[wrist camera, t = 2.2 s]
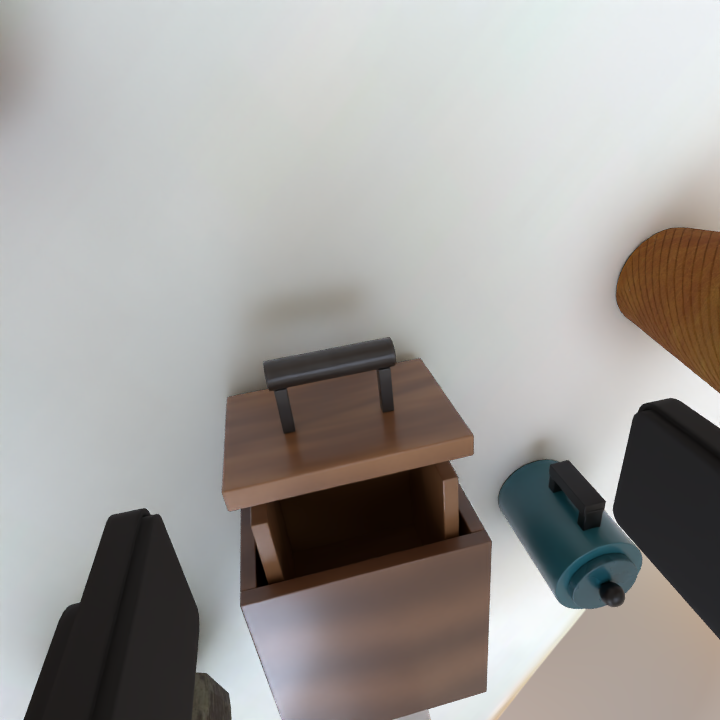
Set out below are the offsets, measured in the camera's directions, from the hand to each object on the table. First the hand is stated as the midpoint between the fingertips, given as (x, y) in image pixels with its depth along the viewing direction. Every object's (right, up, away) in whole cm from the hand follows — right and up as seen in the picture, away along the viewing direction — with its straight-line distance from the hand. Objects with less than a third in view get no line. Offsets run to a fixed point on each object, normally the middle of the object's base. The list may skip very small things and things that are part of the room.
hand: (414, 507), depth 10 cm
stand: (-2, -9, +26) cm, 27 cm away
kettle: (+12, -7, +28) cm, 32 cm away
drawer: (-3, -2, +21) cm, 21 cm away
